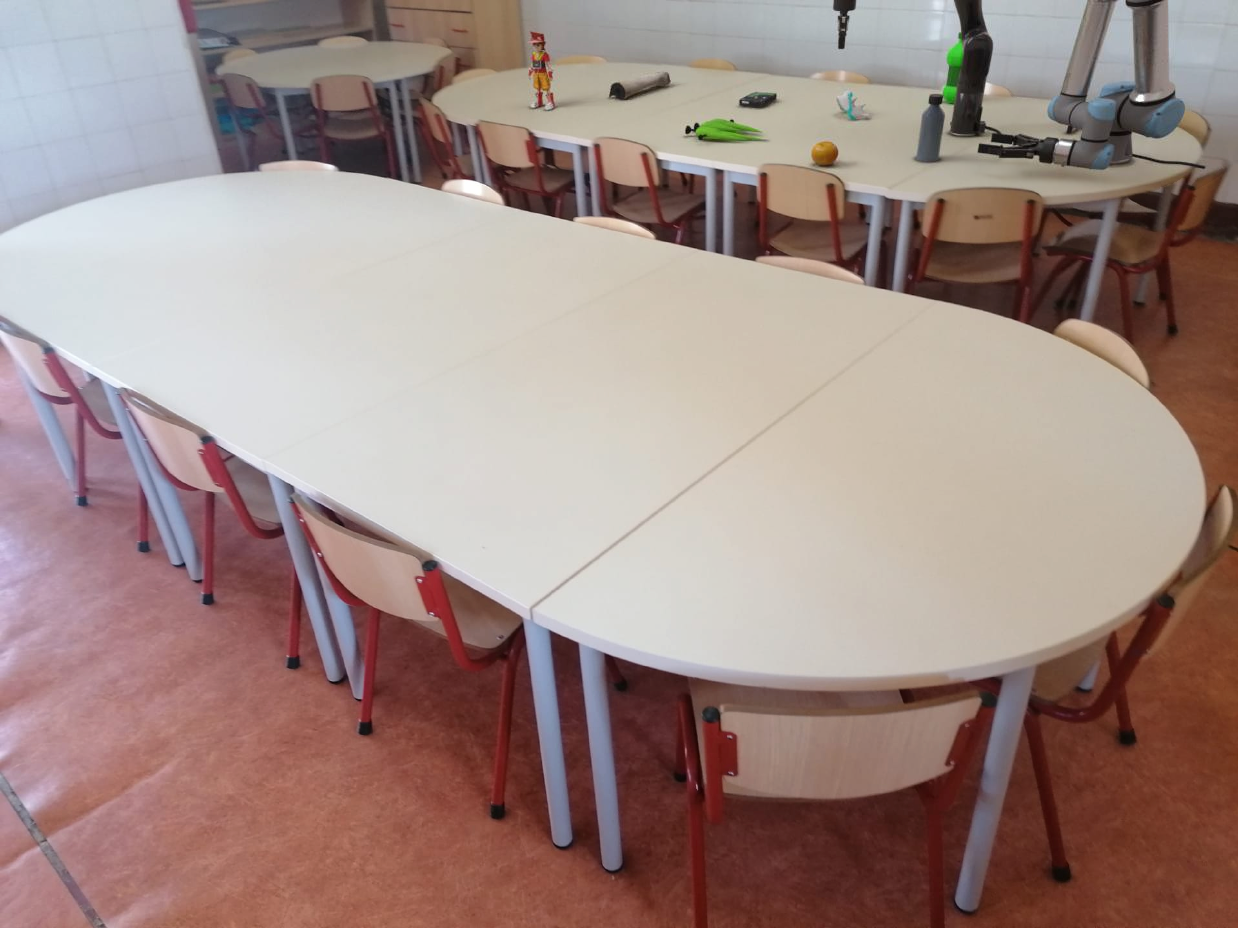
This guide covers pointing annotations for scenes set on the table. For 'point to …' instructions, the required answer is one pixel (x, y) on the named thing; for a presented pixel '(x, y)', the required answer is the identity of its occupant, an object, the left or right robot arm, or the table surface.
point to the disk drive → (757, 99)
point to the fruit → (824, 153)
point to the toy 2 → (721, 130)
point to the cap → (935, 99)
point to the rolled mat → (638, 84)
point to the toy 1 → (541, 71)
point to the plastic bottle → (953, 70)
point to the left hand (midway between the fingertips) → (841, 46)
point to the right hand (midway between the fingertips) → (985, 142)
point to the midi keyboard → (1070, 129)
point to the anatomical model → (850, 105)
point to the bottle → (930, 134)
